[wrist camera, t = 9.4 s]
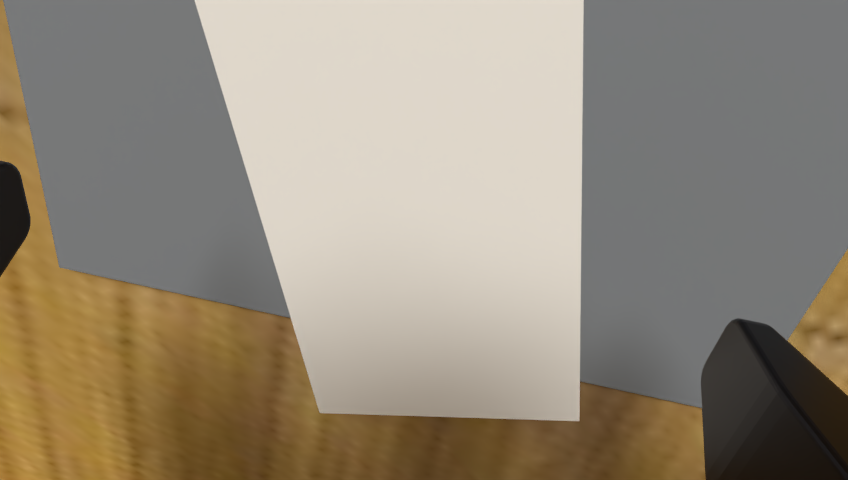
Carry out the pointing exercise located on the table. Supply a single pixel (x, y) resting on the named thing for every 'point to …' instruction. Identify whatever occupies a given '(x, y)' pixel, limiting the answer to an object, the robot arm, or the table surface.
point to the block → (417, 194)
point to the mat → (601, 167)
